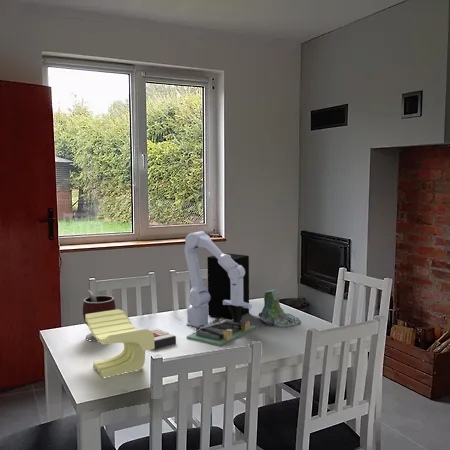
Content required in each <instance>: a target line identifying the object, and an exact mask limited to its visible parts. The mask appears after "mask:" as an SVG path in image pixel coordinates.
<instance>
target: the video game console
mask: <svg viewBox="0 0 450 450" xmlns="http://www.w3.org/2000/svg"><path fill="white" fill-rule="evenodd" d="M223 254H228V255H230V256H231V258H232V259H233V260H234V261H235V262H236V263H238V265H242V266H243V267H244V269H245V275H244V276H243V302H246V303H249V304H250V256H249V255H244V254H236V253H228V252H225V253H224V252H223ZM206 260H207V290H208V292H209V294H210V301H209V302H208V316H211V317H216V318H219V317H222V318H224V319H230V320H233V317H232V315H231V312H230V311H229V309H228V307H230V305H223V300H231V282H230V278H229V276H228V272H227V271H226V270H225V269H224V268H223V267H222V266H221V265H220V264H219V263H218V259H217V258H216V257H215V256H214V255H211V256H207V258H206ZM249 314H250V309H248V308H246V309H245V311H244V313H243V316H245V315H249Z"/></svg>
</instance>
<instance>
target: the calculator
mask: <svg viewBox="0 0 450 450" xmlns="http://www.w3.org/2000/svg"><path fill="white" fill-rule="evenodd" d="M149 330H150V329H149ZM150 331H151V332H152V333H153V335H154V347H155V349H152V350H154V351H155V350H158V349H163V348H166V347H167V348H168V347H170V346H175V345H177V336H176V335H174V334H172V333H169V332H167V331H165V330H162V329H159V328H155V329H151V330H150Z"/></svg>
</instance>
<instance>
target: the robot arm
mask: <svg viewBox="0 0 450 450" xmlns="http://www.w3.org/2000/svg"><path fill="white" fill-rule="evenodd" d="M184 242H185V245H184V250H183V251H184V256H185V261H186V265H187V270H188V275H189V280H190V286H191V289H190V291H189V304H190V305H189V306H188V308H187V315H186V316H187V323H186V325H187V326H191V327H192V326H193V327H195V328H196V327H198V326H200V325H204V326H206V325H210V323H212V322H211V321H209V315H208V302H209V301H210V294H209V292H208V286H207V287H206V285H205V284H204V281H203V277H202V273H201V268H200V267H201V266H200V262H199V257H198V253H197V252H198V251H199V249H200V248H204V249H206V250H207V251H209V252H210V253H211V254H212V256H215V257H216V258H217V259H218V263H219V264H220V265H221V266H222V267H223V268H224V269H225V270H226V271H227V272H228V276H229V278H230V282H231V300H223V305H230V307H228V309H229V311H230V312H231V315H232V317H233V321H234V322H237V323H240V322H242V318H243V316H244V315H243V313H244V311H245V309H246V308H248V309H249V310H251V309H252V308H253V303H250V302H249V303H246V302H243V276H244V275H245V269H244V267H243V266H242V265H238V263H236V262H235V261H234V260H233V259H232V258H231V256H230V255H228V254H224V252H222V251H221V249H220V248H219V247H218V246H217V244H215V242H214V241H213V240H212V239H211V237H210V235H208V234H207V233H206V232H205V231H204V230H200V231H196V232H190V233H188V234H187V235H186V237H185V238H184Z"/></svg>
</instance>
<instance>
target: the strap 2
mask: <svg viewBox="0 0 450 450" xmlns="http://www.w3.org/2000/svg"><path fill="white" fill-rule="evenodd" d="M223 320H225V322H227V323H232V324H238V325H241V323H242V322H243V321H241V322H240V323H237V322H234V321H233V320H230V319H224V318H222V319H219V320H218V321H223Z"/></svg>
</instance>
